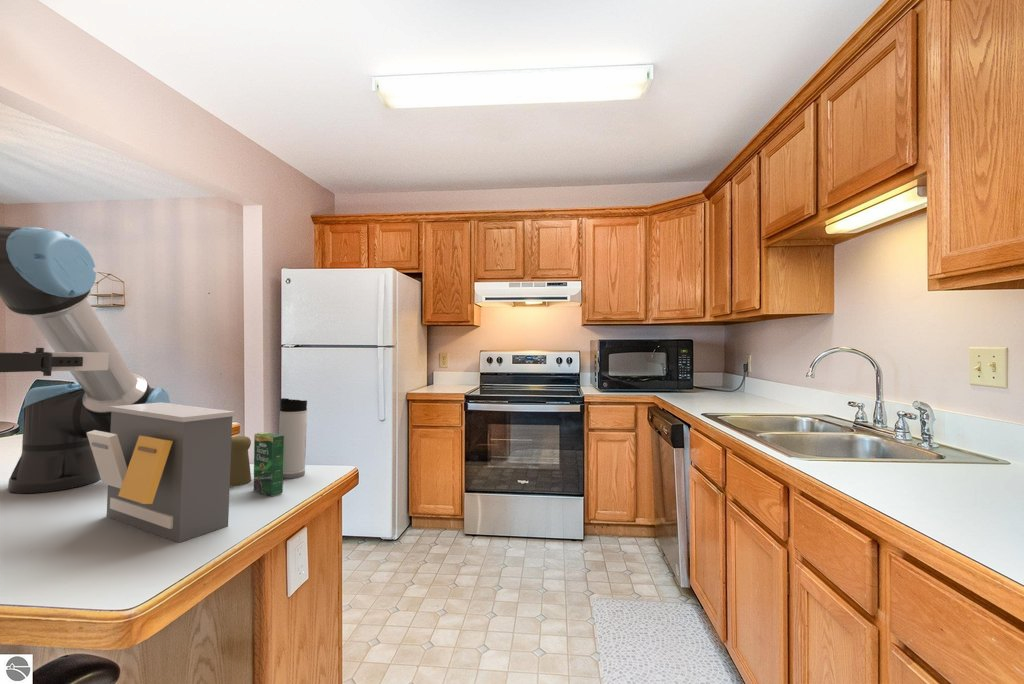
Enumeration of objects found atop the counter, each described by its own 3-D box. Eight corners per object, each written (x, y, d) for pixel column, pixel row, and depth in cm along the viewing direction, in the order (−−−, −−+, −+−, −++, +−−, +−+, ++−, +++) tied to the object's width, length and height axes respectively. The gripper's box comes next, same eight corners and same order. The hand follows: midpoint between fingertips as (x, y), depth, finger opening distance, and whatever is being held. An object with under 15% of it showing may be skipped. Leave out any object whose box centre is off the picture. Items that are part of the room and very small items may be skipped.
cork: (215, 484, 103) (217, 437, 104) (238, 477, 109) (240, 433, 109) (235, 487, 102) (237, 439, 102) (257, 480, 107) (259, 435, 108)
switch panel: (177, 544, 72) (182, 417, 72) (103, 516, 82) (108, 406, 83) (230, 525, 80) (235, 411, 80) (156, 503, 90) (161, 402, 91)
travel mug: (270, 477, 110) (273, 397, 110) (291, 471, 116) (294, 395, 117) (289, 480, 108) (292, 399, 108) (310, 473, 114) (312, 397, 114)
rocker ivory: (122, 490, 77) (106, 437, 75) (100, 483, 80) (84, 433, 78) (132, 486, 78) (117, 434, 76) (110, 479, 82) (94, 429, 79)
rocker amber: (142, 504, 69) (163, 440, 72) (116, 495, 73) (137, 435, 75) (152, 503, 71) (172, 441, 73) (126, 495, 74) (147, 436, 77)
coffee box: (251, 490, 100) (253, 432, 100) (264, 487, 102) (266, 430, 103) (270, 497, 95) (272, 437, 96) (283, 493, 98) (285, 435, 98)
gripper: (-188, 394, 50) (84, 383, 71) (-161, 401, 44) (126, 387, 65) (-184, 328, 50) (86, 337, 71) (-156, 327, 44) (129, 337, 65)
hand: (105, 361), depth 68 cm, fingers closed
